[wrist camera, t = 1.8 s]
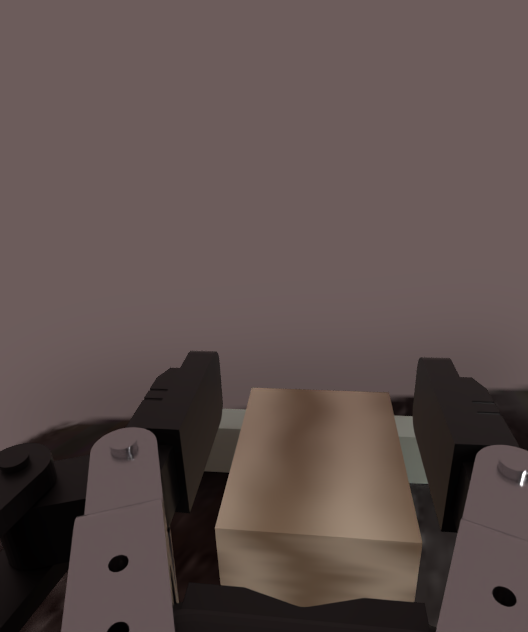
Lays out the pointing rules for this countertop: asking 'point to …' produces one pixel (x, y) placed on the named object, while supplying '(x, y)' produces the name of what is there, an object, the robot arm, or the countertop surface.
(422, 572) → the countertop surface
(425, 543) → the countertop surface
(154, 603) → the robot arm
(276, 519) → the birch block
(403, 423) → the sage board
